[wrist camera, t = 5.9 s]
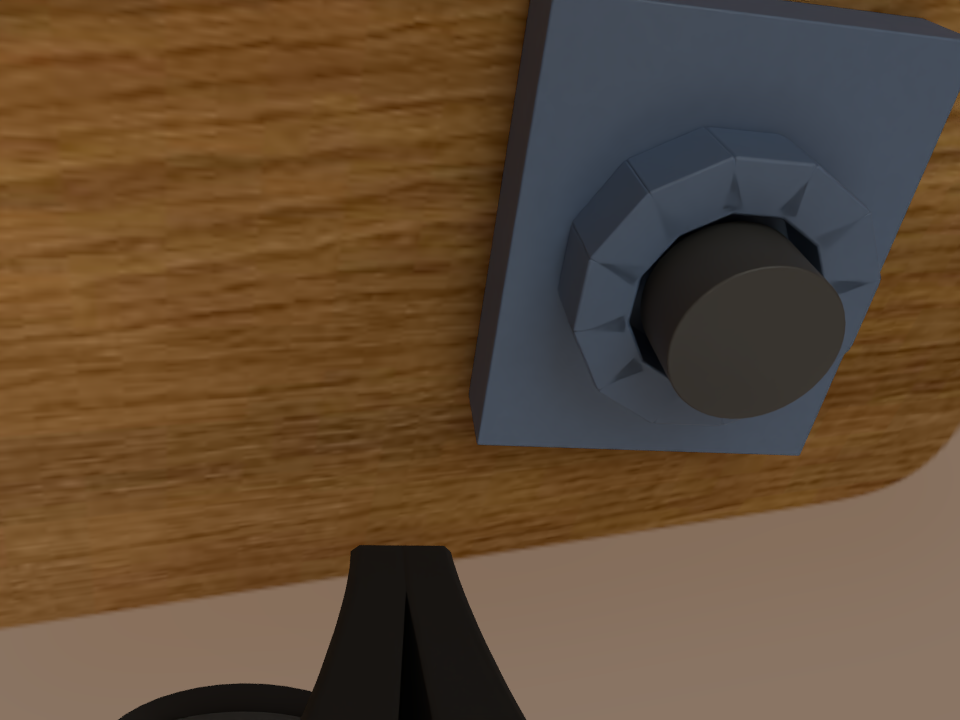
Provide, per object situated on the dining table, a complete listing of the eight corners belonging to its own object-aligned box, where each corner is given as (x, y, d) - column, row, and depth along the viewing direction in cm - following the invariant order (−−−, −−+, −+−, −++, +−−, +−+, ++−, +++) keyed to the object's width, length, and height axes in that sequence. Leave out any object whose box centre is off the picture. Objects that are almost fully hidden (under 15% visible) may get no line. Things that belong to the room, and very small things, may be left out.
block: (768, 408, 25) (829, 502, 22) (468, 395, 24) (485, 493, 20) (924, 17, 19) (1040, 66, 16) (534, -33, 18) (573, 8, 14)
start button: (771, 368, 20) (809, 423, 18) (623, 360, 19) (648, 416, 17) (826, 227, 18) (874, 272, 16) (663, 213, 17) (695, 259, 15)
